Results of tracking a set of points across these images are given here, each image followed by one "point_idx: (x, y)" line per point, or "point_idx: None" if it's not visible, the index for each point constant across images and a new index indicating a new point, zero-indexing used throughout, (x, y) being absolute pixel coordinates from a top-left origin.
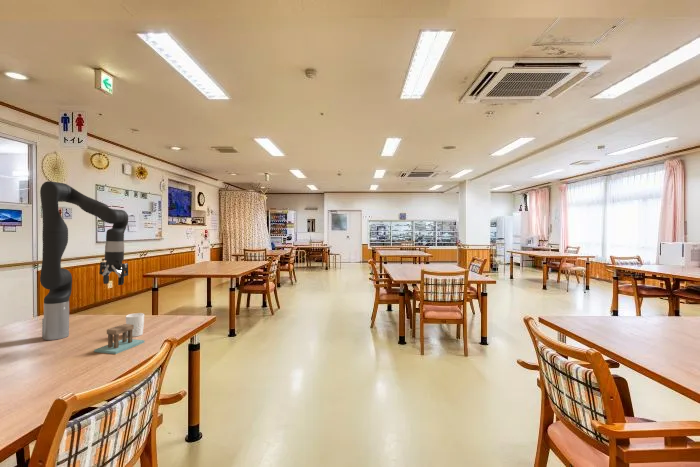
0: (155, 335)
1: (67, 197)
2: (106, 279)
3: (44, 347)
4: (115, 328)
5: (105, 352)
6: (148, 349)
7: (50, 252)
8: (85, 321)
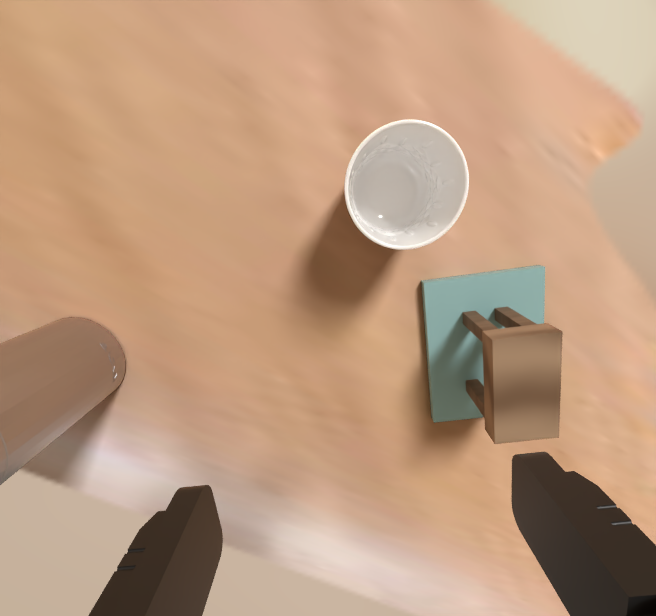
0: (505, 155)
1: None
2: (189, 595)
3: (196, 446)
4: (522, 416)
5: None
6: (631, 325)
7: None
8: None
